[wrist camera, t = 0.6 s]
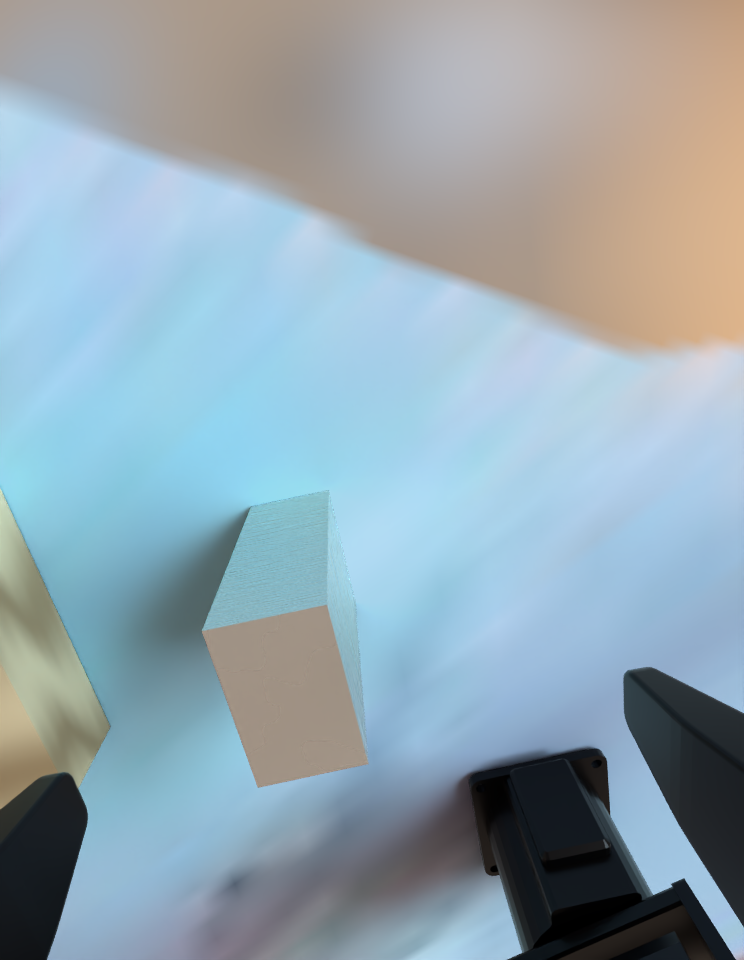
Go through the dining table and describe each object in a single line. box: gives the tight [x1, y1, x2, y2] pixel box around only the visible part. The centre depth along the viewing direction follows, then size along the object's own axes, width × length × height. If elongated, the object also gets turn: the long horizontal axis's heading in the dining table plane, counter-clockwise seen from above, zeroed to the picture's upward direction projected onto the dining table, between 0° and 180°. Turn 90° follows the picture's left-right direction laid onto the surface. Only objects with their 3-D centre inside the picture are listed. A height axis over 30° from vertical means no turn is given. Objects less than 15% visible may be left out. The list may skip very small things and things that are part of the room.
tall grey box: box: [202, 490, 368, 788], centre depth 17 cm, size 5×3×8 cm, turn 11°
